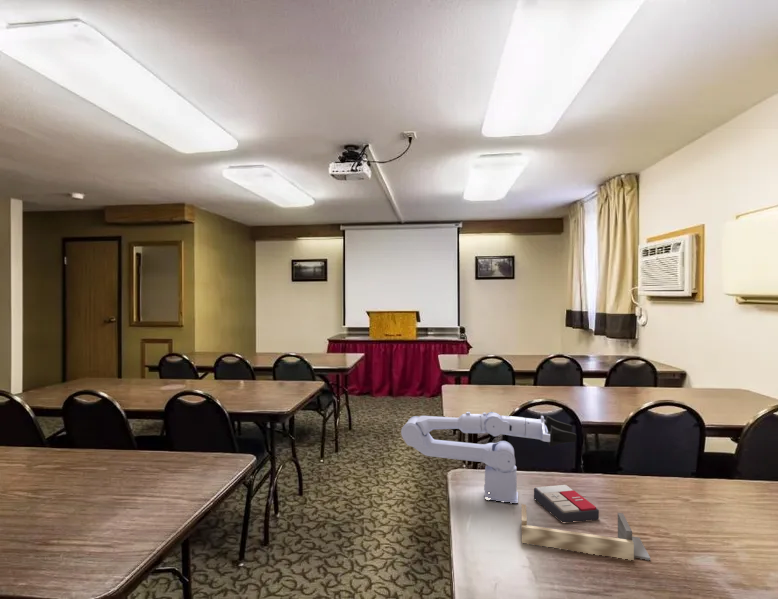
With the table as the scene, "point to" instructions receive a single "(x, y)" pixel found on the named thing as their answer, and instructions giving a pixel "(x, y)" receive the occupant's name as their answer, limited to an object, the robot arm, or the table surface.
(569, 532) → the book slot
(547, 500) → the calculator
